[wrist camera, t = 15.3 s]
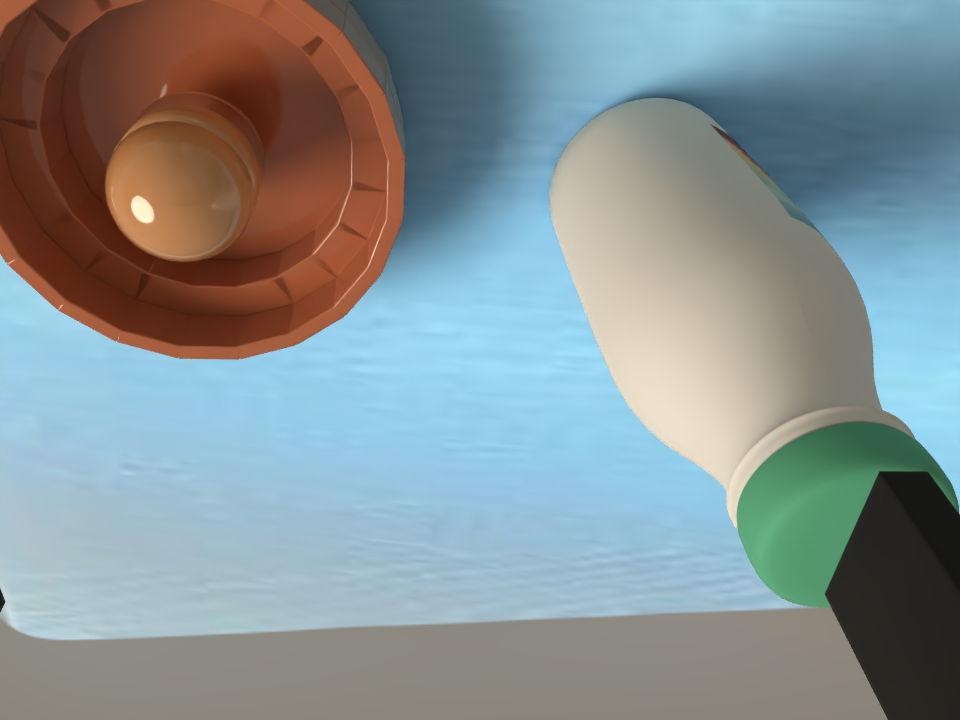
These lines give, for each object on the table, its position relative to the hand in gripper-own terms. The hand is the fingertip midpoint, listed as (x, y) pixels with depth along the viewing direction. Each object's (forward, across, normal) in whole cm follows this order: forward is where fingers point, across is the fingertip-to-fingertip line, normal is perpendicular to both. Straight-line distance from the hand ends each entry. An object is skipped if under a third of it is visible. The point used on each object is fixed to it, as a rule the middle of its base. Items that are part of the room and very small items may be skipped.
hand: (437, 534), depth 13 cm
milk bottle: (+24, +9, -4) cm, 26 cm away
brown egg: (+23, -8, -2) cm, 24 cm away
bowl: (+23, -8, -2) cm, 24 cm away
